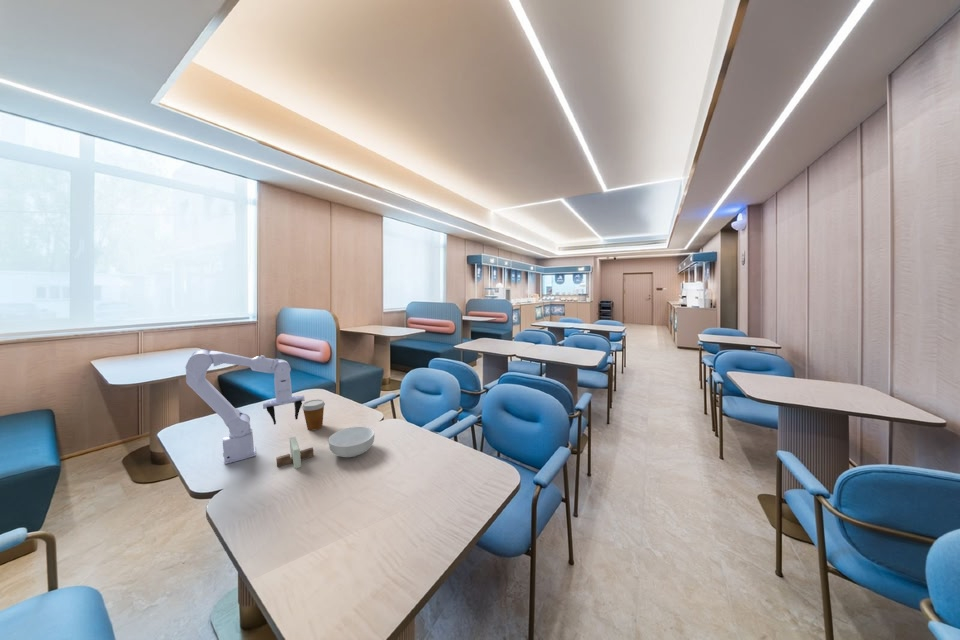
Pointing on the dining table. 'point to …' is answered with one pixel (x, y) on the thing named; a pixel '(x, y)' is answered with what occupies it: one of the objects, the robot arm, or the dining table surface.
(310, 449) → the walnut slot board
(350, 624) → the dining table surface
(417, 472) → the dining table surface
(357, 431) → the cereal bowl
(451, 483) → the dining table surface
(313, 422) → the disposable coffee cup
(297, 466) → the sage slot plate
